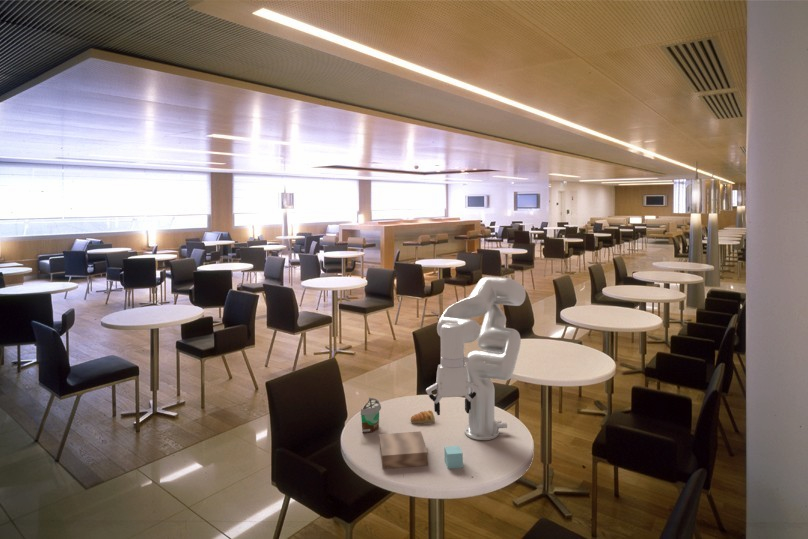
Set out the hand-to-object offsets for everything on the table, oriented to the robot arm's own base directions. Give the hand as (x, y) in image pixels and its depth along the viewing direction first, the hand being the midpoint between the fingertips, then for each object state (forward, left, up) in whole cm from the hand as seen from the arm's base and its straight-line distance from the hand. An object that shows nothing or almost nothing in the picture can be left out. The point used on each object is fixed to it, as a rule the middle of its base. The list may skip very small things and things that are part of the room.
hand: (452, 412), depth 155 cm
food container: (+25, -30, -18) cm, 43 cm away
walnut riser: (+16, -8, -18) cm, 25 cm away
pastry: (+5, -34, -18) cm, 38 cm away
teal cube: (0, 0, -18) cm, 18 cm away
